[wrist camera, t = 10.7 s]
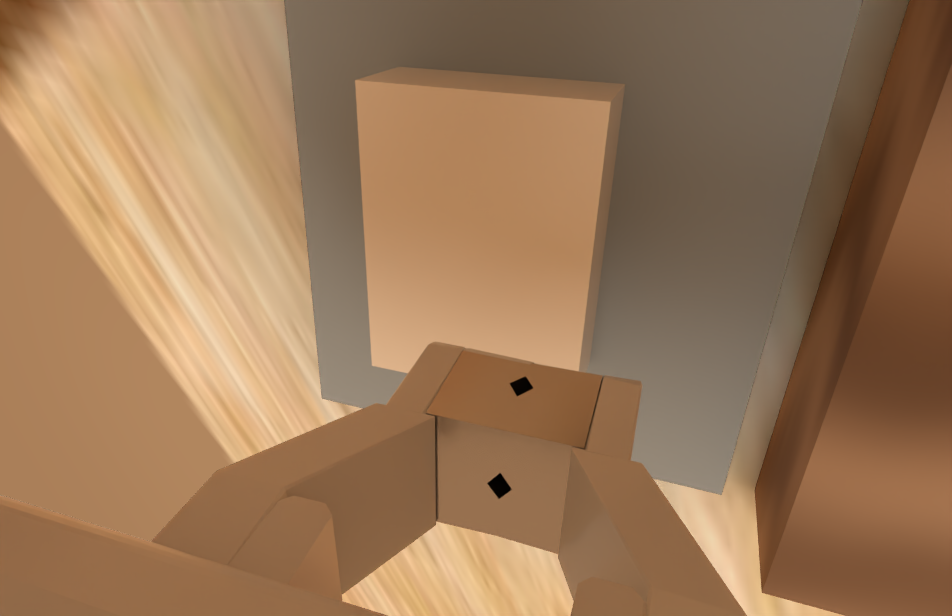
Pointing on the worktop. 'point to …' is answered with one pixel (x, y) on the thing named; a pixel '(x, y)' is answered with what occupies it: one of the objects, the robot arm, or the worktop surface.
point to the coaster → (485, 212)
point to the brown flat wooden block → (876, 369)
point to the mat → (633, 189)
